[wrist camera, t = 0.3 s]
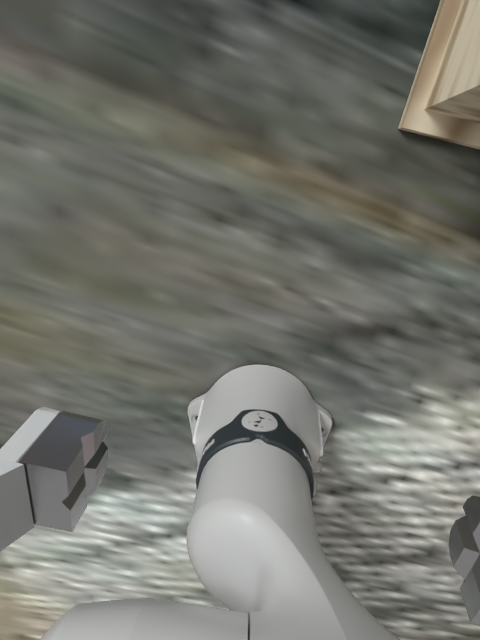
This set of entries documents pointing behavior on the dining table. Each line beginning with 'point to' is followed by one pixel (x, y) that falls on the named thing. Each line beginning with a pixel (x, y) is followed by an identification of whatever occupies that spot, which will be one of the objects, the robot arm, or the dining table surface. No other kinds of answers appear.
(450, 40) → the shelf stand
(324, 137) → the dining table surface
